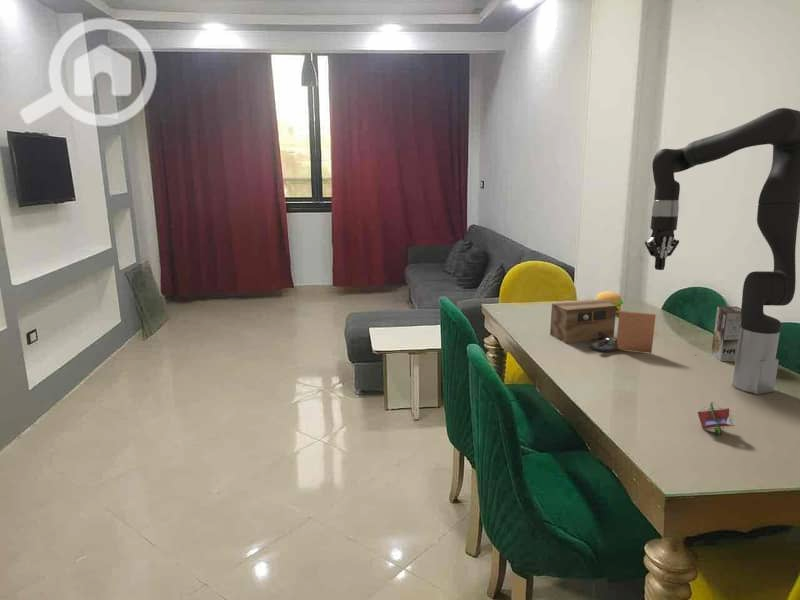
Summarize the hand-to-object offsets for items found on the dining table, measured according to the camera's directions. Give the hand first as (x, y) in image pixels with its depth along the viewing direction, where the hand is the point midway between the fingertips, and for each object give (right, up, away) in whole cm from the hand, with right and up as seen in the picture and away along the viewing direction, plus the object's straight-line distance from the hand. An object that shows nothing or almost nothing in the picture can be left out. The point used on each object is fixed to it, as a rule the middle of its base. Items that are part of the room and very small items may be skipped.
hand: (659, 269), depth 177 cm
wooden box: (-16, -23, +26) cm, 38 cm away
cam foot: (-8, -26, +11) cm, 30 cm away
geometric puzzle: (-8, -41, -45) cm, 62 cm away
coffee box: (+24, -29, +4) cm, 37 cm away
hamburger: (+6, -15, +60) cm, 62 cm away
